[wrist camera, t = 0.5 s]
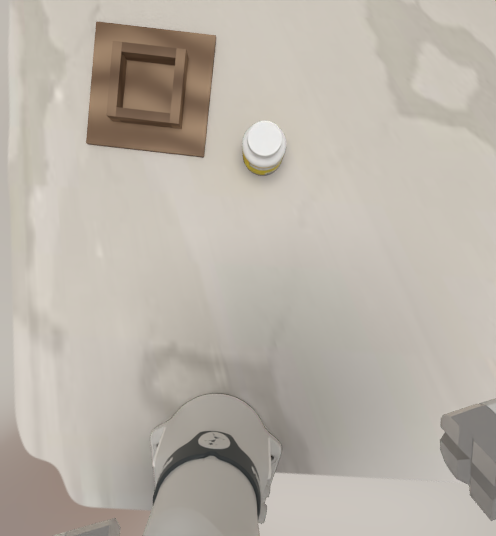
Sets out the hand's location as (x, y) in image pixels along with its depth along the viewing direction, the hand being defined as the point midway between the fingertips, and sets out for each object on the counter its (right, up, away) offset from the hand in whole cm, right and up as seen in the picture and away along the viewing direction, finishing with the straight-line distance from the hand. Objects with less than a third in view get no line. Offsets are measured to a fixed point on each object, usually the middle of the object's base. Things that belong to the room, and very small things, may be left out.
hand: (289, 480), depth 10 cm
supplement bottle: (+1, +20, +45) cm, 50 cm away
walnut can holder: (-14, +29, +44) cm, 55 cm away
